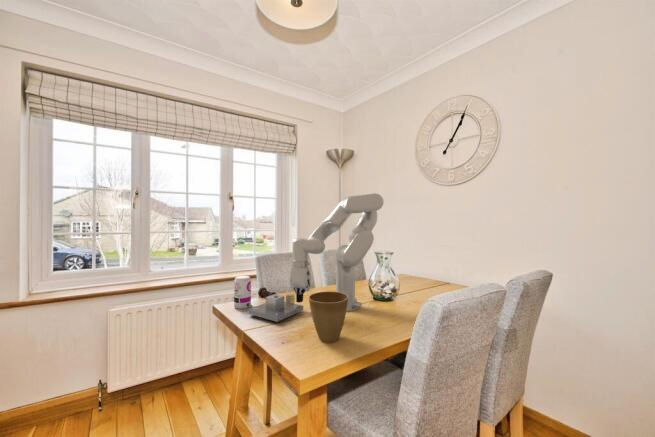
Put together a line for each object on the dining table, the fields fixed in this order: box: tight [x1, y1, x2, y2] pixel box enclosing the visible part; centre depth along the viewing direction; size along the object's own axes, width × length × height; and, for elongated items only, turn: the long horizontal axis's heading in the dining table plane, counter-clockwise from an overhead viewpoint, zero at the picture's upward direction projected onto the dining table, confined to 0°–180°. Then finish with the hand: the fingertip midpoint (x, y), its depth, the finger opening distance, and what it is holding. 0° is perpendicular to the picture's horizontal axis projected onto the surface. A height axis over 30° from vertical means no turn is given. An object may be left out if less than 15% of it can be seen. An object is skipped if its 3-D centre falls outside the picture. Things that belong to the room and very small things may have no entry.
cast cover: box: [265, 293, 285, 310], centre depth 132 cm, size 6×6×5 cm
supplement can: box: [233, 275, 252, 310], centre depth 143 cm, size 8×8×15 cm
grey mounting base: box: [247, 293, 304, 323], centre depth 133 cm, size 18×20×7 cm
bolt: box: [257, 286, 278, 298], centre depth 157 cm, size 6×5×15 cm
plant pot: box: [308, 290, 348, 343], centre depth 107 cm, size 15×15×16 cm
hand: (299, 301), depth 137 cm, fingers closed
